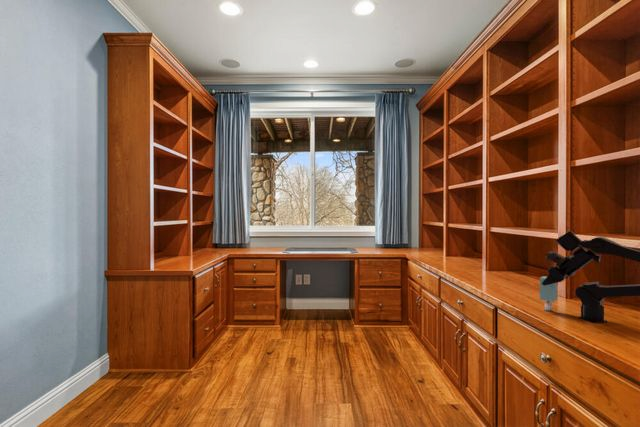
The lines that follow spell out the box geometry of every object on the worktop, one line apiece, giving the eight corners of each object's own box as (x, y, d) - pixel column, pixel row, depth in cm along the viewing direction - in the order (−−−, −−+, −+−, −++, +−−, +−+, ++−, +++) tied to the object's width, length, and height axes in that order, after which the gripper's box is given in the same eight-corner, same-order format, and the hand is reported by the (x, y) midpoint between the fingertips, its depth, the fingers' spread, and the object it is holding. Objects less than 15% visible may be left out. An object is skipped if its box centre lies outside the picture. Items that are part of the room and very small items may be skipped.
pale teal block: (557, 299, 137) (557, 278, 136) (554, 301, 133) (553, 279, 133) (543, 297, 140) (543, 276, 140) (539, 299, 137) (539, 277, 137)
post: (554, 311, 136) (554, 302, 136) (548, 312, 135) (548, 302, 135) (548, 309, 139) (548, 300, 139) (542, 309, 138) (542, 300, 138)
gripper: (565, 243, 140) (536, 266, 148) (553, 247, 128) (521, 271, 136) (589, 264, 134) (557, 286, 142) (578, 269, 122) (543, 293, 130)
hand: (544, 283), depth 138 cm, fingers closed on pale teal block, 5 cm apart
